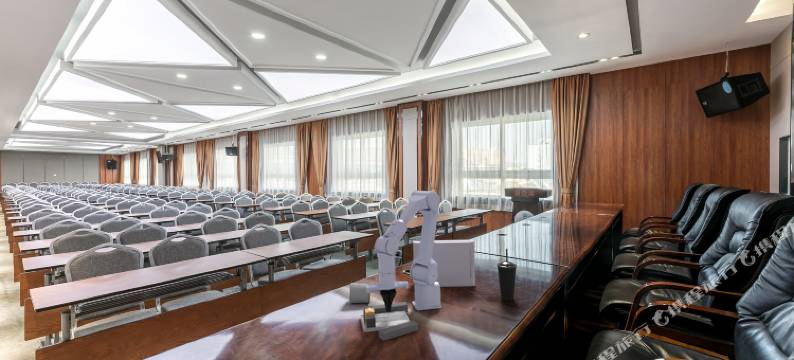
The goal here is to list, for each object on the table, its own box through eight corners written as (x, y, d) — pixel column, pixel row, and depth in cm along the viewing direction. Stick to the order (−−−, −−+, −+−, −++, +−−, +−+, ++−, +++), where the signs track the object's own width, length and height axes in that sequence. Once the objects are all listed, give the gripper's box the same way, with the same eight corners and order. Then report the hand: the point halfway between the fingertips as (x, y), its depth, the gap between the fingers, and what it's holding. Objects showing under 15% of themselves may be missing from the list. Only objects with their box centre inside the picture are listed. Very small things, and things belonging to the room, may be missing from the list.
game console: (476, 286, 156) (475, 242, 156) (414, 287, 157) (413, 243, 156) (473, 282, 162) (472, 239, 162) (414, 283, 162) (413, 240, 162)
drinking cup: (496, 301, 139) (495, 250, 138) (498, 294, 146) (497, 246, 145) (516, 303, 136) (516, 251, 135) (518, 296, 143) (517, 247, 142)
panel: (404, 313, 128) (404, 302, 128) (411, 326, 117) (411, 314, 117) (360, 318, 125) (360, 306, 125) (363, 332, 114) (363, 319, 114)
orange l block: (373, 318, 122) (373, 307, 122) (374, 321, 119) (374, 310, 119) (365, 318, 121) (364, 307, 121) (365, 322, 118) (365, 311, 118)
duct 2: (413, 327, 117) (413, 320, 117) (418, 331, 115) (418, 323, 115) (378, 338, 111) (378, 330, 111) (383, 341, 108) (383, 333, 108)
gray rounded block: (370, 305, 137) (370, 285, 137) (349, 306, 137) (348, 286, 137) (370, 296, 148) (370, 277, 148) (351, 296, 147) (350, 278, 147)
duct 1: (405, 309, 133) (405, 301, 133) (408, 312, 130) (407, 304, 130) (371, 313, 129) (371, 305, 129) (373, 317, 127) (373, 308, 126)
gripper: (403, 266, 127) (404, 303, 127) (364, 270, 123) (365, 309, 123) (409, 271, 120) (410, 311, 120) (367, 276, 116) (369, 317, 116)
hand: (388, 310), depth 121 cm, fingers closed
